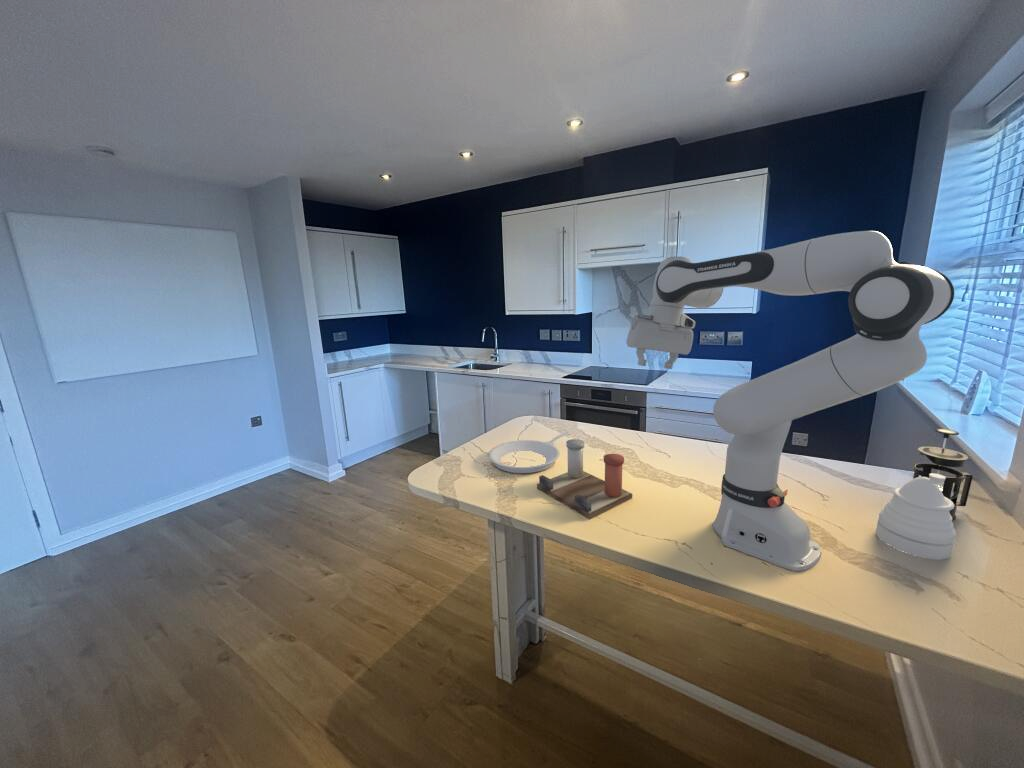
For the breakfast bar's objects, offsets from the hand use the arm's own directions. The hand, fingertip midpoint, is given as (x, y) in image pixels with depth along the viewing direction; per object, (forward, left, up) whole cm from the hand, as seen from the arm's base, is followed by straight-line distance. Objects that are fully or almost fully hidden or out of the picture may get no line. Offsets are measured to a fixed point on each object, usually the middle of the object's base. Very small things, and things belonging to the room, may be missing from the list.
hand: (654, 367), depth 114 cm
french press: (-53, -49, -40) cm, 82 cm away
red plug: (+5, +11, -37) cm, 39 cm away
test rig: (+13, +15, -39) cm, 44 cm away
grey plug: (+21, +11, -37) cm, 44 cm away
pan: (+45, +8, -40) cm, 61 cm away
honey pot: (-53, -28, -40) cm, 72 cm away
